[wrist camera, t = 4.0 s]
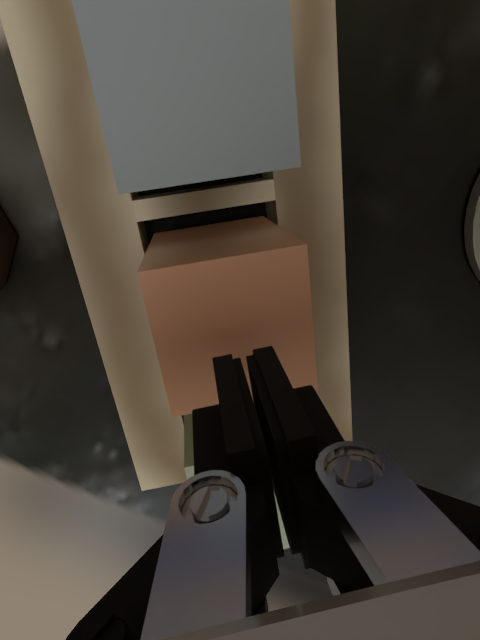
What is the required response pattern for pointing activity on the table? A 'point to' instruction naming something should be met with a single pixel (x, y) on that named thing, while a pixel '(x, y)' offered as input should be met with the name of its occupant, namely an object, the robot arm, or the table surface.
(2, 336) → the table surface
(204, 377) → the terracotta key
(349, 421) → the birch board
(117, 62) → the slate key
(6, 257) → the beer bottle
